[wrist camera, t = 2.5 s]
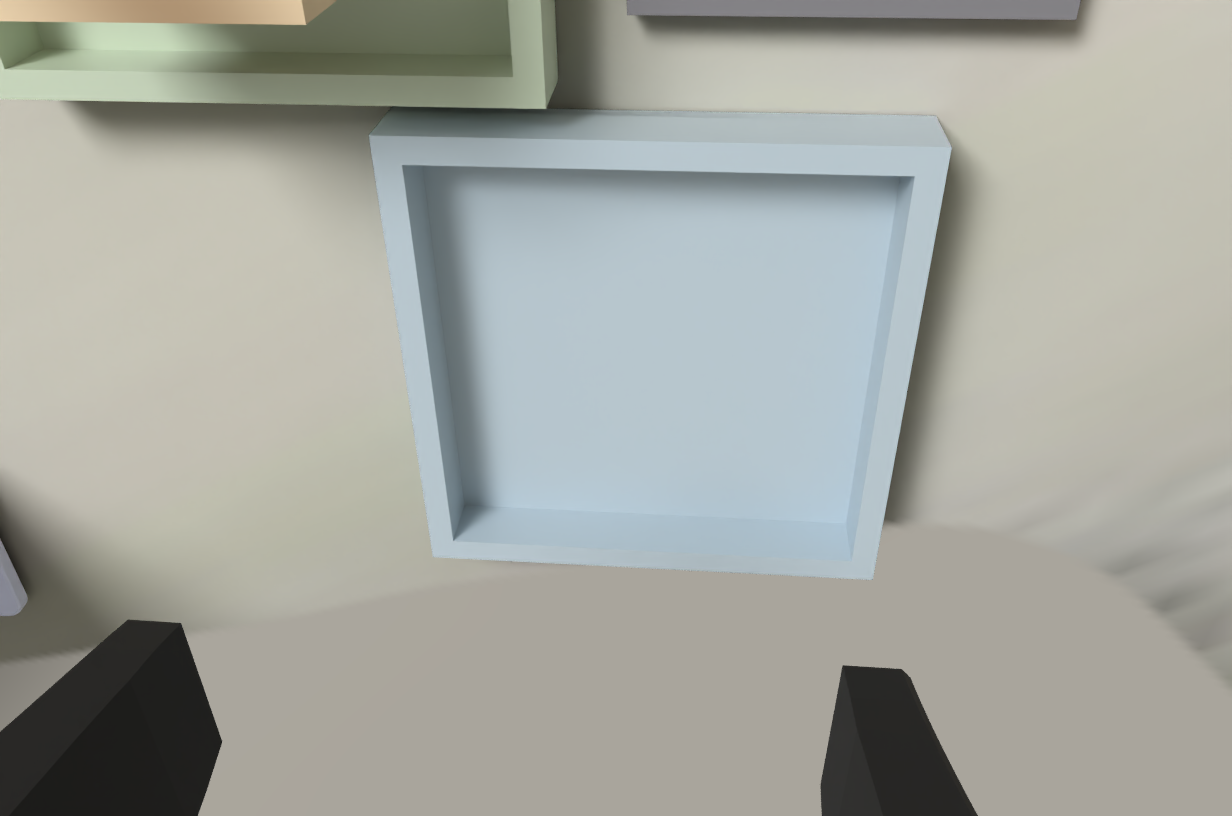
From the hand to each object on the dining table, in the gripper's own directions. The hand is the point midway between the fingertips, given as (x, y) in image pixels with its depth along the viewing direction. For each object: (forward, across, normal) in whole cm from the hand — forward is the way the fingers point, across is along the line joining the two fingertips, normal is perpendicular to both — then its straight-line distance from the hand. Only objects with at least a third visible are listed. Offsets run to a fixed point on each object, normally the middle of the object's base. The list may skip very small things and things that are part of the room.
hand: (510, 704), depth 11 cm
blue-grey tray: (+10, -1, +2) cm, 11 cm away
